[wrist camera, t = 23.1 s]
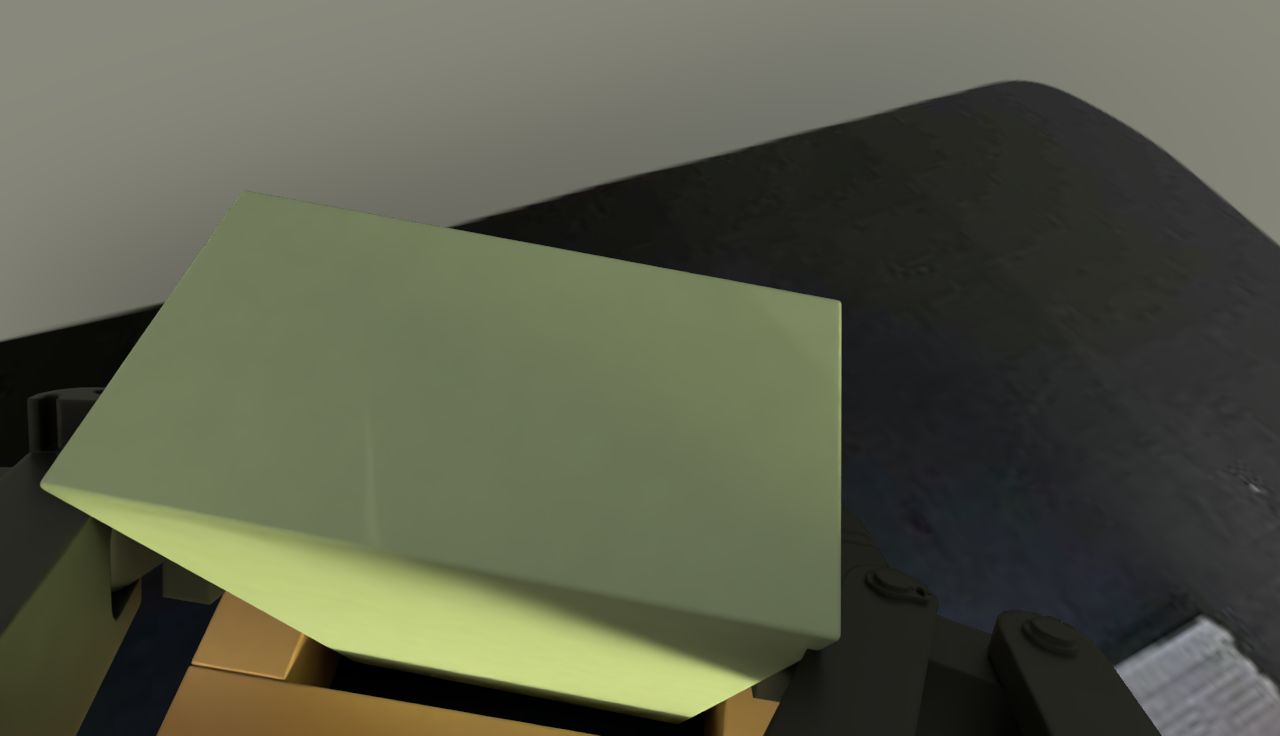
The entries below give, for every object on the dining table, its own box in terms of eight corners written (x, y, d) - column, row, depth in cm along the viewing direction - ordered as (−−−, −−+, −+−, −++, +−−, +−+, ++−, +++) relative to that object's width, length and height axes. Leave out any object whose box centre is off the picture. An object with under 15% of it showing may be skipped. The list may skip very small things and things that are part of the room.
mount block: (778, 991, 15) (819, 1034, 12) (161, 882, 15) (76, 902, 12) (792, 432, 22) (820, 387, 20) (380, 363, 22) (355, 310, 20)
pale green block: (680, 725, 17) (843, 641, 7) (353, 661, 17) (32, 486, 7) (699, 551, 19) (843, 299, 9) (413, 497, 19) (241, 187, 9)
